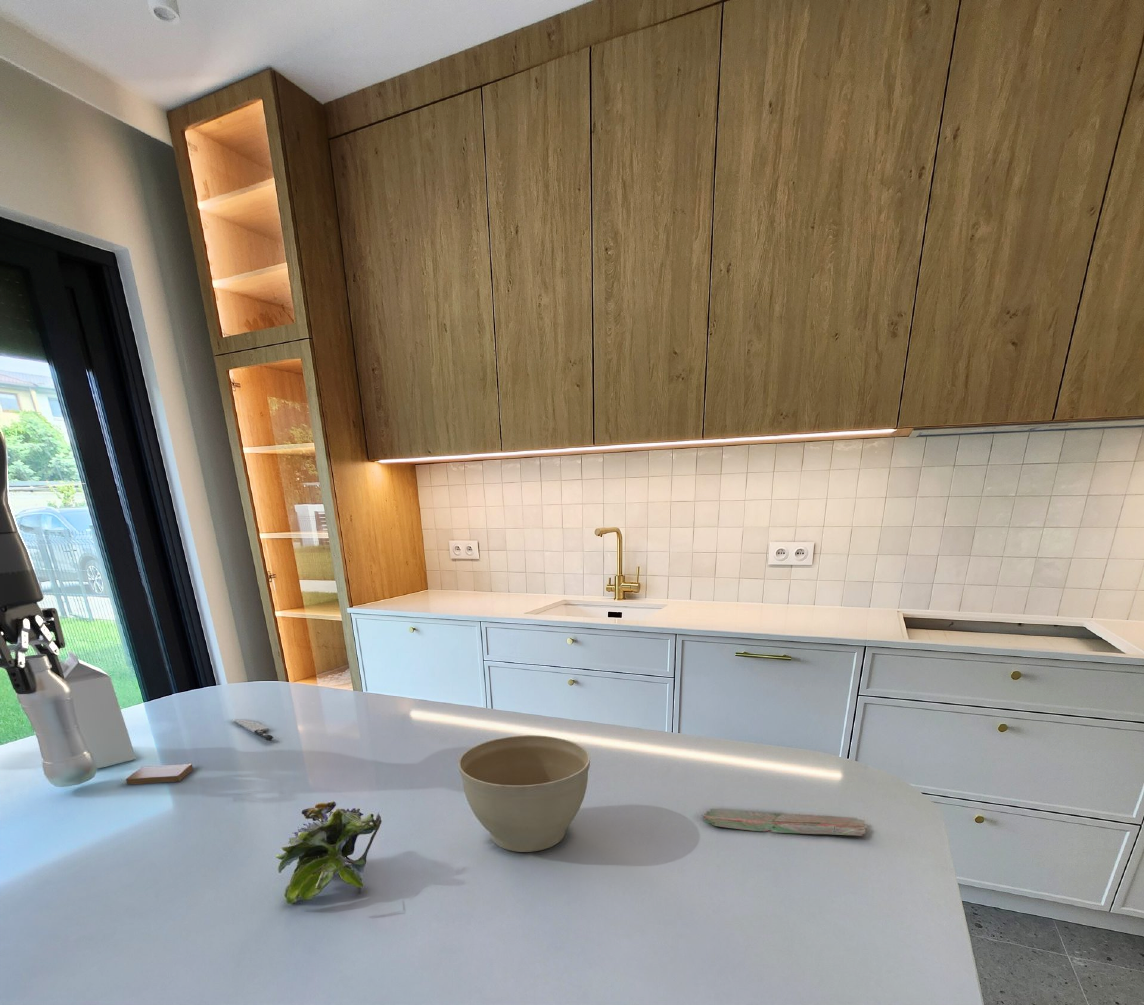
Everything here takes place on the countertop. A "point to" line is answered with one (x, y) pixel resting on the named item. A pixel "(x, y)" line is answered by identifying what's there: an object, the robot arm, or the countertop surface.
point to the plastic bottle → (56, 726)
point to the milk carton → (98, 712)
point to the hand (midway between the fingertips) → (41, 686)
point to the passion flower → (326, 850)
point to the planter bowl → (525, 788)
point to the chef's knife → (255, 728)
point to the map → (786, 822)
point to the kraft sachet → (159, 774)
